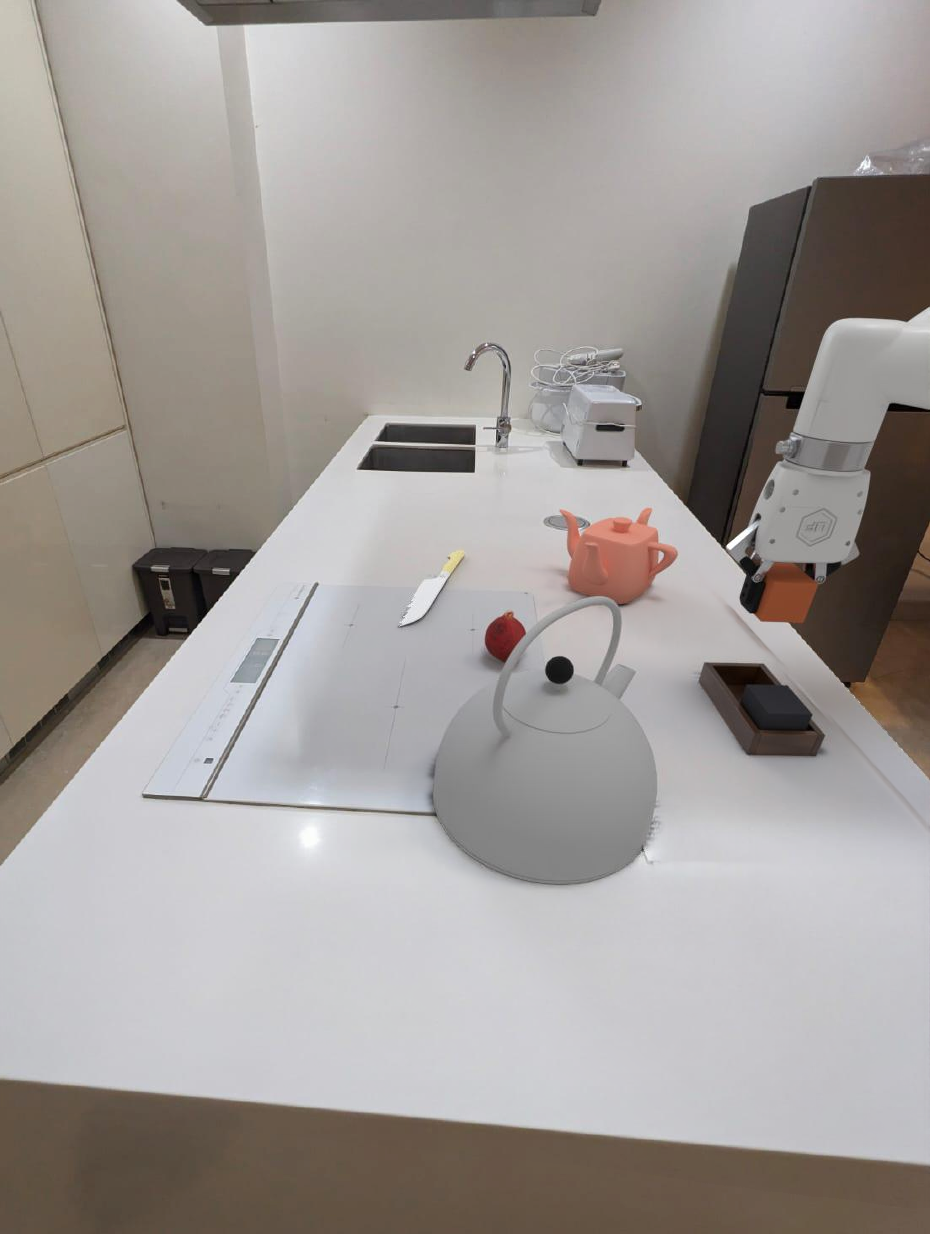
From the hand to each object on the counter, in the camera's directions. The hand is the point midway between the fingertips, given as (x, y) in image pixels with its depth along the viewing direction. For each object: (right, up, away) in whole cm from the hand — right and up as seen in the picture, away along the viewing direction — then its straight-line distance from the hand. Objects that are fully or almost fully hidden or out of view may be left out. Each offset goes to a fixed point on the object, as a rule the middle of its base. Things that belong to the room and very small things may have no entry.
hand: (771, 607), depth 76 cm
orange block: (0, 0, 0) cm, 0 cm away
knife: (-40, +7, +36) cm, 54 cm away
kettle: (-29, -21, -8) cm, 36 cm away
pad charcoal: (-1, -15, 0) cm, 15 cm away
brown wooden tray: (-1, -14, +4) cm, 14 cm away
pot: (-9, +8, +38) cm, 39 cm away
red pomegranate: (-31, -6, +15) cm, 34 cm away
